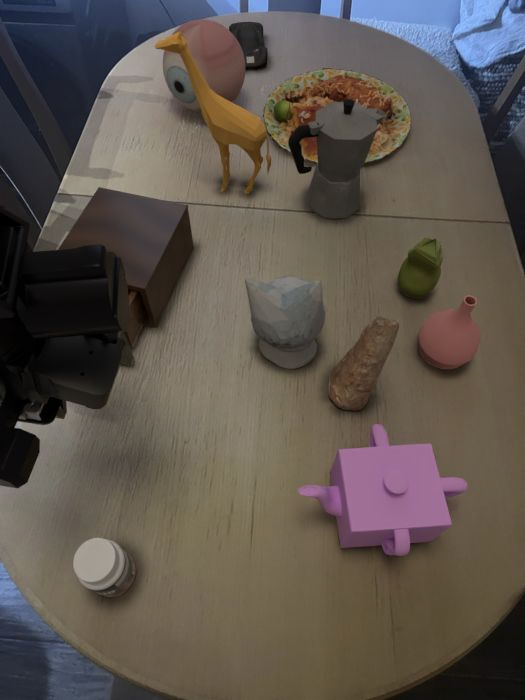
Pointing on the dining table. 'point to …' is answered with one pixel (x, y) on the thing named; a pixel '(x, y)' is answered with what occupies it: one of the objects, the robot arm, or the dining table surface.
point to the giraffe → (222, 115)
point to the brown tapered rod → (362, 364)
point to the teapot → (387, 495)
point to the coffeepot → (337, 155)
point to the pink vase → (450, 336)
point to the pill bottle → (104, 567)
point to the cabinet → (139, 242)
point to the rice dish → (335, 86)
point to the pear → (421, 269)
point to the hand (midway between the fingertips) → (60, 415)
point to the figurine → (287, 319)
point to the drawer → (133, 325)
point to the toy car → (251, 44)
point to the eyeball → (206, 62)
